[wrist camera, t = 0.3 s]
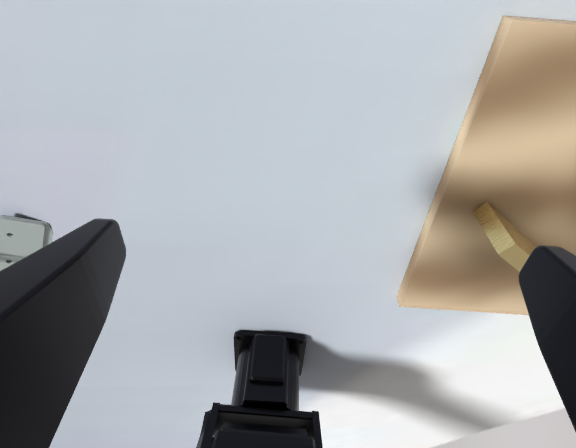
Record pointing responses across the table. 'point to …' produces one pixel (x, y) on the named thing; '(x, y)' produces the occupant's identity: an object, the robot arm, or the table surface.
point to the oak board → (503, 172)
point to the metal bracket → (21, 238)
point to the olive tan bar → (504, 236)
